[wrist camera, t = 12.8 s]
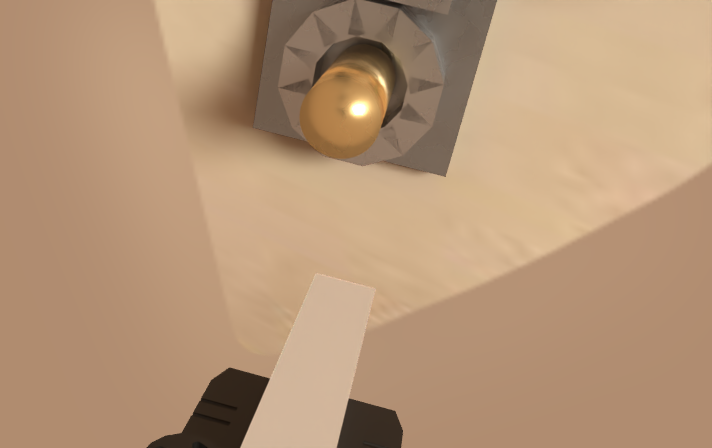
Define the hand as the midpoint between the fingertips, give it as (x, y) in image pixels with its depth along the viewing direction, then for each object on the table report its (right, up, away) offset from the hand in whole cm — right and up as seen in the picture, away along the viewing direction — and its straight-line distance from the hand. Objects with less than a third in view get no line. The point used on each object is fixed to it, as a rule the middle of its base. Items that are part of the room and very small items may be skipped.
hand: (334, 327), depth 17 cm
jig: (+2, +16, +25) cm, 30 cm away
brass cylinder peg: (+1, +12, +25) cm, 28 cm away
